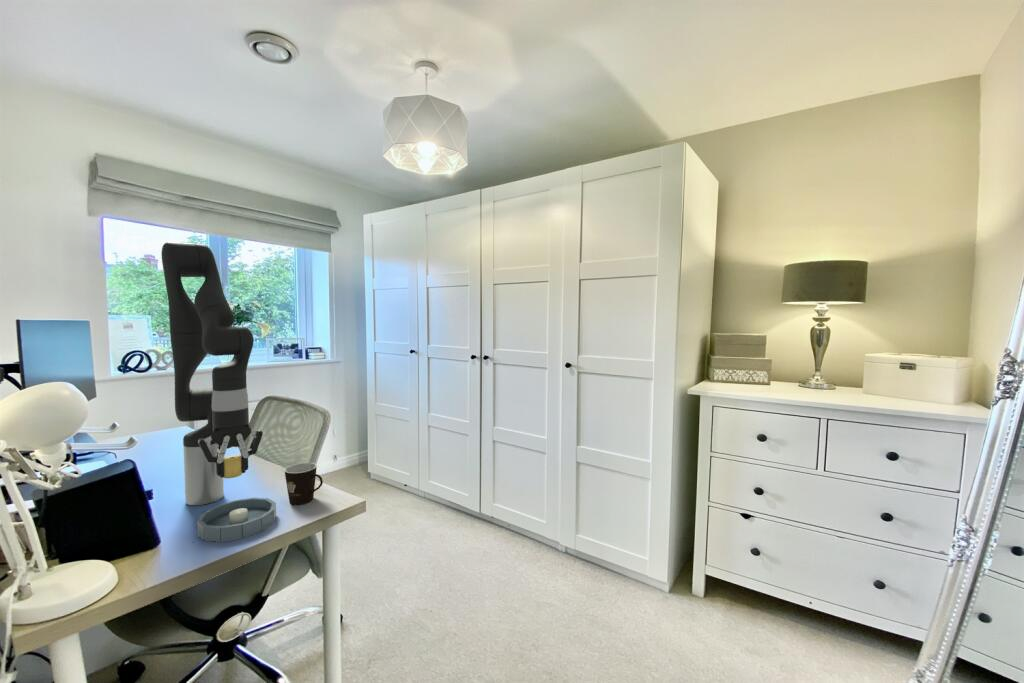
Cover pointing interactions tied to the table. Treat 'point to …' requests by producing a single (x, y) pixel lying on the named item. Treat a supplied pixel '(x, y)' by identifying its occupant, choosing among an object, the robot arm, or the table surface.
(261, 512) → the groove dish
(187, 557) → the table surface
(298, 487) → the coffee mug
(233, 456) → the bead
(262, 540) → the table surface
